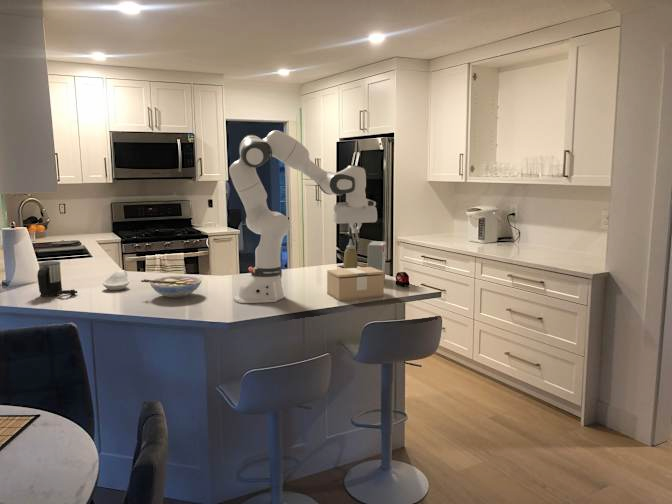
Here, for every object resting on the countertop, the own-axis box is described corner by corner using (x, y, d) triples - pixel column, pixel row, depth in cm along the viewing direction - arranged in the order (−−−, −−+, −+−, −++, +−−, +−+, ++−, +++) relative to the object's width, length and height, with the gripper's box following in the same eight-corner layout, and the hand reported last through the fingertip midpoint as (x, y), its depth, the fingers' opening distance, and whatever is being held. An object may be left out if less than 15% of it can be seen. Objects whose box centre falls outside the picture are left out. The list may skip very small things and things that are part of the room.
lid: (338, 277, 240) (338, 274, 239) (327, 272, 252) (327, 269, 252) (383, 273, 248) (383, 271, 248) (370, 268, 261) (370, 266, 260)
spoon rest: (127, 291, 257) (126, 276, 256) (100, 292, 255) (99, 277, 254) (135, 281, 280) (134, 267, 279) (110, 282, 278) (109, 268, 277)
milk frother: (42, 292, 254) (39, 261, 251) (79, 290, 259) (77, 259, 257) (37, 300, 241) (34, 267, 238) (76, 297, 246) (74, 264, 243)
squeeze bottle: (360, 272, 303) (360, 240, 300) (346, 273, 300) (346, 240, 297) (354, 269, 311) (354, 238, 308) (340, 270, 308) (341, 238, 305)
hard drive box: (381, 285, 272) (382, 245, 269) (366, 284, 274) (367, 244, 271) (385, 278, 287) (386, 241, 284) (370, 278, 289) (371, 240, 286)
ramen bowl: (214, 292, 256) (213, 275, 254) (187, 304, 234) (186, 286, 233) (167, 288, 263) (166, 272, 261) (137, 300, 241) (136, 282, 240)
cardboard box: (338, 301, 241) (339, 278, 240) (327, 293, 254) (327, 272, 252) (383, 296, 249) (384, 275, 248) (370, 289, 262) (370, 269, 261)
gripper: (337, 203, 238) (336, 234, 241) (379, 202, 246) (378, 232, 248) (331, 202, 244) (331, 233, 246) (372, 201, 252) (372, 231, 254)
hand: (355, 232), depth 247 cm, fingers closed
